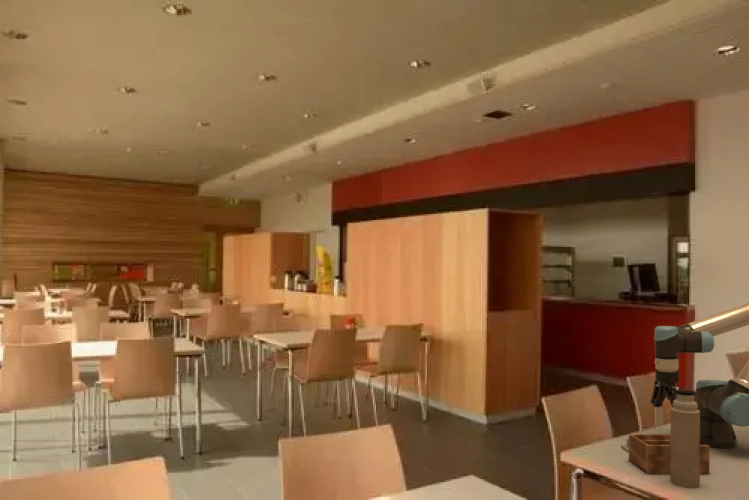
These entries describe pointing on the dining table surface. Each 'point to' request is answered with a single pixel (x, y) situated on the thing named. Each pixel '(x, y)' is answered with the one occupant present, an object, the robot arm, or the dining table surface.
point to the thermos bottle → (685, 441)
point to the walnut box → (658, 454)
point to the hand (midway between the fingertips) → (668, 430)
